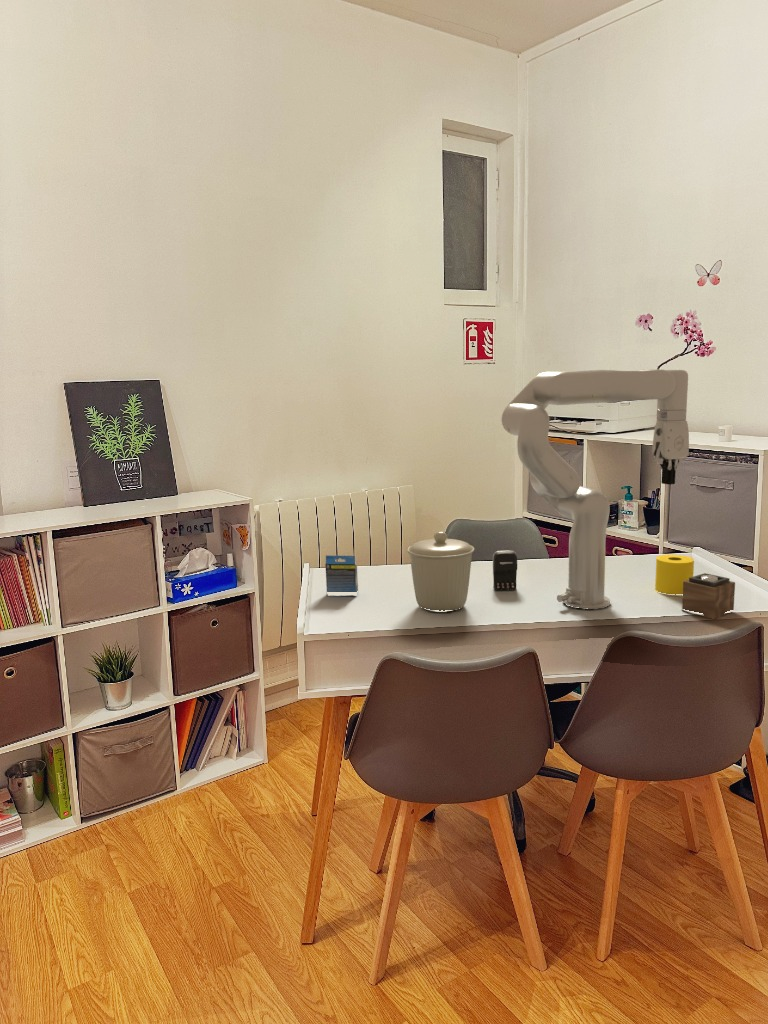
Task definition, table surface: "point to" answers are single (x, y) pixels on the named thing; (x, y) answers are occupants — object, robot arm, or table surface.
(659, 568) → the tape roll
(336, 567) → the label tape box
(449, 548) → the canister
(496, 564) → the battery charger
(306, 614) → the table surface
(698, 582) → the socket block
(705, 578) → the peg
